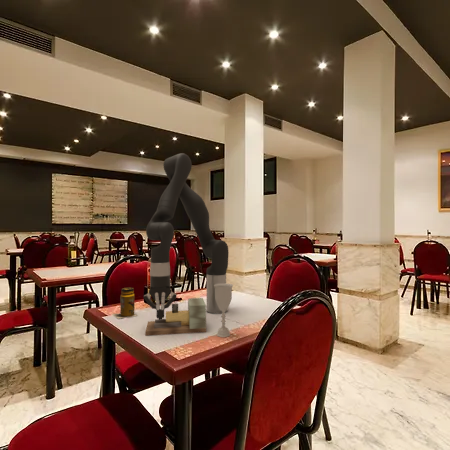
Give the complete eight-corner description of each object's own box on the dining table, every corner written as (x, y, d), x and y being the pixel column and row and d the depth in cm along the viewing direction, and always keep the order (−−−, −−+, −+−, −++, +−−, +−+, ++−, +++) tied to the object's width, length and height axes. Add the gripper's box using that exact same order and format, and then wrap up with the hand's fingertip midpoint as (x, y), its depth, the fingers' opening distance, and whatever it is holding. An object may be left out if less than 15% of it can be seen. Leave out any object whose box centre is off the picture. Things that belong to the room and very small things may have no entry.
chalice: (225, 330, 117) (225, 282, 117) (237, 335, 111) (237, 285, 112) (209, 334, 112) (209, 285, 112) (221, 339, 107) (221, 287, 107)
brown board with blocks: (202, 322, 127) (202, 297, 127) (205, 332, 115) (205, 305, 115) (147, 325, 123) (147, 300, 123) (145, 335, 111) (145, 307, 111)
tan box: (191, 322, 121) (191, 302, 121) (192, 324, 118) (192, 304, 118) (166, 323, 120) (166, 303, 120) (165, 326, 117) (165, 305, 117)
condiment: (137, 316, 136) (137, 288, 136) (117, 319, 131) (117, 291, 132) (132, 312, 142) (132, 286, 142) (113, 315, 138) (113, 288, 138)
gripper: (177, 272, 123) (177, 315, 123) (143, 273, 121) (143, 317, 121) (177, 275, 116) (177, 321, 115) (141, 276, 113) (141, 323, 113)
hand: (160, 319), depth 118 cm, fingers closed
